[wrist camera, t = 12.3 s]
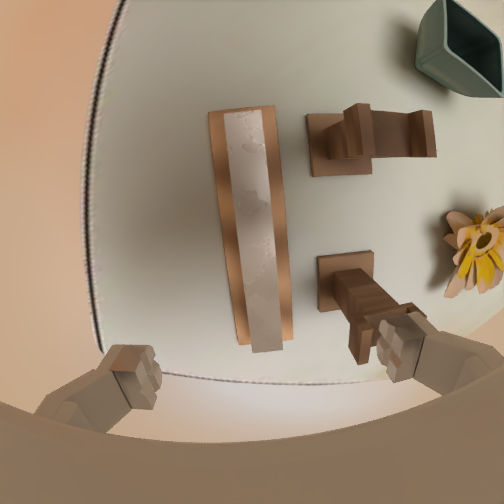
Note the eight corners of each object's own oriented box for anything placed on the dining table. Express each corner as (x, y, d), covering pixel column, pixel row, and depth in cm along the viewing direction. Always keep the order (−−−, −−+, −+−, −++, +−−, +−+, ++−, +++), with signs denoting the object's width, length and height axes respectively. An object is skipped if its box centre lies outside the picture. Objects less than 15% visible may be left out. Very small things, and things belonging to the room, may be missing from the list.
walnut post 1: (305, 115, 24) (348, 78, 12) (363, 115, 24) (431, 90, 12) (312, 176, 25) (360, 182, 14) (369, 173, 25) (441, 181, 14)
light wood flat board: (209, 114, 24) (208, 112, 23) (273, 107, 24) (274, 105, 23) (239, 341, 30) (239, 345, 30) (292, 335, 30) (293, 339, 30)
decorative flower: (415, 293, 27) (479, 312, 18) (427, 195, 27) (492, 185, 17) (481, 298, 29) (531, 311, 20) (490, 221, 29) (541, 221, 19)
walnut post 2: (317, 256, 28) (359, 312, 16) (370, 250, 28) (433, 297, 16) (318, 309, 29) (352, 380, 18) (368, 301, 29) (418, 362, 18)
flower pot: (397, 72, 22) (444, 48, 14) (404, 20, 20) (442, -10, 11) (454, 108, 23) (505, 100, 14) (457, 55, 21) (501, 39, 12)
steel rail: (226, 120, 23) (223, 113, 20) (259, 116, 23) (261, 109, 20) (252, 336, 29) (252, 353, 26) (279, 333, 29) (282, 349, 26)
